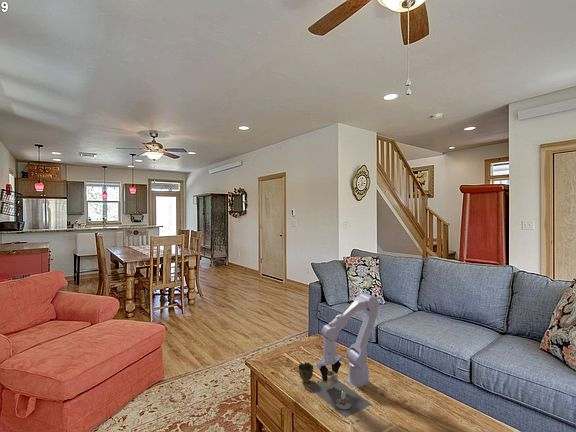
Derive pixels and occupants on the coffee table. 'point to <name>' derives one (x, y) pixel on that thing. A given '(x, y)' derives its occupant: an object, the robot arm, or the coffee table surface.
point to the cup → (306, 372)
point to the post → (343, 402)
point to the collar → (331, 378)
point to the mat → (334, 393)
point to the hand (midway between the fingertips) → (329, 378)
